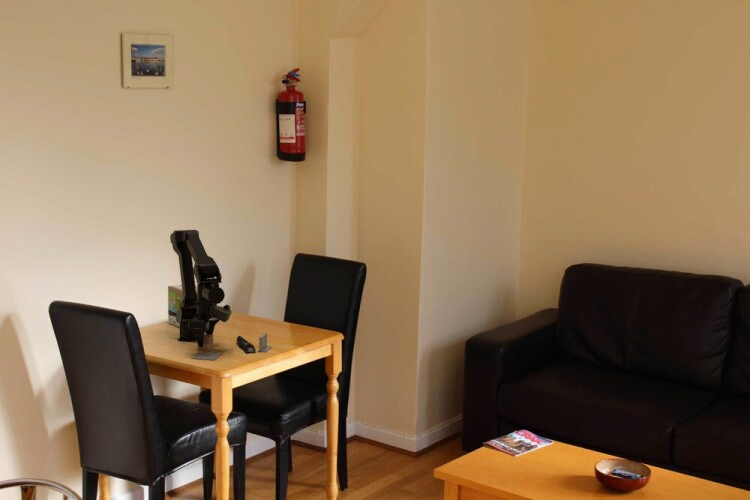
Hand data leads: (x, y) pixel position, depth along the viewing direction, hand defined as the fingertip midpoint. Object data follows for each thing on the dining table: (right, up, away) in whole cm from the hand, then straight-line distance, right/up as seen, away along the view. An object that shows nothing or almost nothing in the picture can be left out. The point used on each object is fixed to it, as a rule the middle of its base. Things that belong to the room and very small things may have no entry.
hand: (205, 343), depth 315 cm
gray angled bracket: (+19, -2, +4) cm, 20 cm away
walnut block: (0, -2, 0) cm, 2 cm away
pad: (+2, -4, -8) cm, 9 cm away
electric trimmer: (+13, -3, +5) cm, 14 cm away
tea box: (-13, +3, +35) cm, 37 cm away
